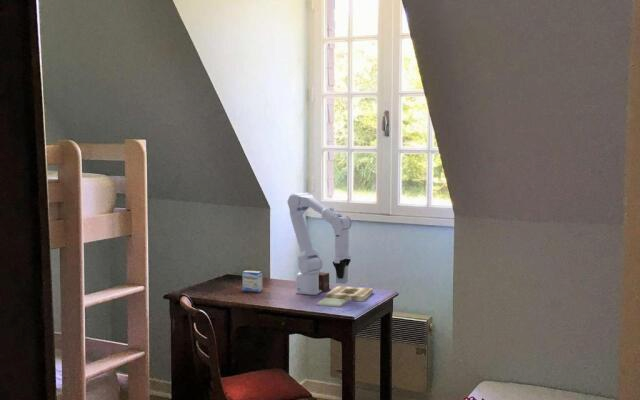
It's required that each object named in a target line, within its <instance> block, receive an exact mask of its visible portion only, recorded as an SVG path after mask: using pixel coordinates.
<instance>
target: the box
mask: <svg viewBox="0 0 640 400" xmlns="http://www.w3.org/2000/svg"><path fill="white" fill-rule="evenodd" d="M329 289H330V272H324V271H323V272H322V271H320V272H319V290H322V291H321V292H325V291H328V290H329Z"/></svg>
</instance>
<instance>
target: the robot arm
mask: <svg viewBox="0 0 640 400" xmlns="http://www.w3.org/2000/svg"><path fill="white" fill-rule="evenodd" d="M286 202H287V205H288V208H289V217H290V219H291V223H292V227H293V231H294V233H295V238H296V240H297V244H298V247H299V251H300V254H299V256H298V257H297V260H298V265H297V266H298V270H299V272H298V273H297V274H296V279H295V280H296V283H295V284H296V285H295V286H296V291H295V294H299V295H311V296H312V295H313V296H317V295H318V294H319V293H321V292H323V291H322V290H319V272H321V271H320V270H322V267H323V260H322V258H321V257H320V256H319V253H318V252H317V251H316V250H314V248H313V245H312V242H311V238H310V236H309V232H308V231H309V230H308V228H307V224H306V221H305V217H304V214H305V213H306V212H307V210H309V208H311V209H312V210H314V211H315V212H317V213H318V214H320V215H321V218H322V219H323V220H324V221H326V222H327V223H329V224H330V225H331V226H332V229H333V233H334V261H332V265H333V266H334V267H333V268H334V269H335V274H336V273H337V277H338V278H341V279H342V278H343V275H344V268H345V265H348V266H349V265H350V263H351V258H352V255H350V253H349V250H350V249H349V247H350V246H349V245H350V243H349V242H350V240H349V239H350V238H349V231H350V229H351V227H352V223H353V222H352V219H351V218H350V217H349V216H348V215H342V213H341V212H339V211H338V212H337V210H334V209H335V208H334V207H332V206H331V207H330V206H329V207H326V206H325V205H323V204H322V203H321V202H320V201H318V199H316V198H315V196H314V195H313V194H311V193H310V192H301V193H300V192H299V193H291V194H290V195H289V196H288V199H287V201H286Z"/></svg>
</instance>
